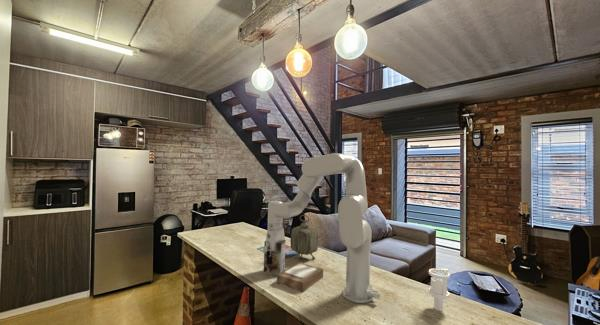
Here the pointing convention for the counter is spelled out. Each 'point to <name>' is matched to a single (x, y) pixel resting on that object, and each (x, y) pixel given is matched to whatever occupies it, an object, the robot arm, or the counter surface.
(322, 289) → the counter surface
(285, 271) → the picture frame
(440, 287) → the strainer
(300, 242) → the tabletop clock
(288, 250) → the tablet
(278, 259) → the coffee box
